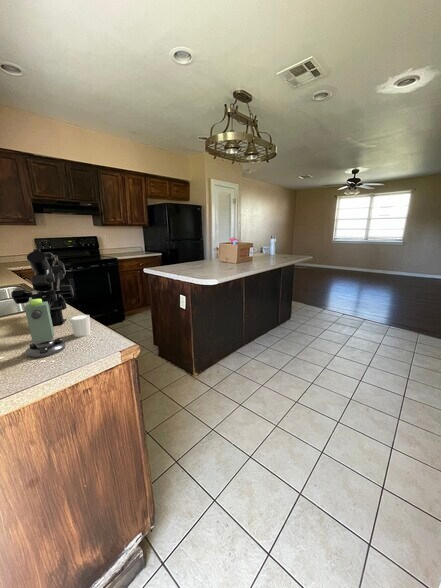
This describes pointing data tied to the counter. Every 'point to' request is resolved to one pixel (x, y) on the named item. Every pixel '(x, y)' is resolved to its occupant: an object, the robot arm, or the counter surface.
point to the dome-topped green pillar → (39, 321)
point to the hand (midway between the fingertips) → (45, 313)
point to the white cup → (80, 325)
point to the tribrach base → (45, 348)
